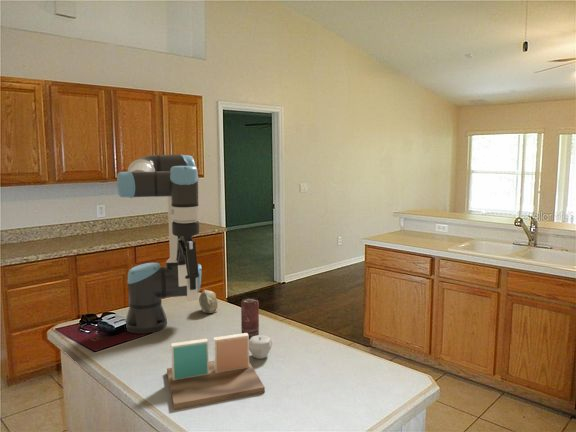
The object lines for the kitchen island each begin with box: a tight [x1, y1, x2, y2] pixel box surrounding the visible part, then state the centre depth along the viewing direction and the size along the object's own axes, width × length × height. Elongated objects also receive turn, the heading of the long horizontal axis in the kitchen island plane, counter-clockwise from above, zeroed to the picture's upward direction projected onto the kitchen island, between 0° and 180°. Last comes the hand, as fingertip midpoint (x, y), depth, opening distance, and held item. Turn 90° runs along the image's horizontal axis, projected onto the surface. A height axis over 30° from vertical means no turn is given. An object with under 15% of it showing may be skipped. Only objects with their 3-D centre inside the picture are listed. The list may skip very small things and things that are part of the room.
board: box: [166, 360, 266, 410], centre depth 125 cm, size 20×24×2 cm
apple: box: [249, 334, 273, 360], centre depth 141 cm, size 8×8×7 cm
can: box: [240, 297, 260, 340], centre depth 154 cm, size 6×6×14 cm
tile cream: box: [213, 332, 250, 373], centre depth 129 cm, size 2×10×10 cm, turn 110°
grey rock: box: [198, 289, 218, 314], centre depth 181 cm, size 9×8×10 cm
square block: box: [170, 338, 209, 380], centre depth 125 cm, size 2×10×10 cm, turn 110°
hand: (187, 292), depth 128 cm, fingers open, 13 cm apart
